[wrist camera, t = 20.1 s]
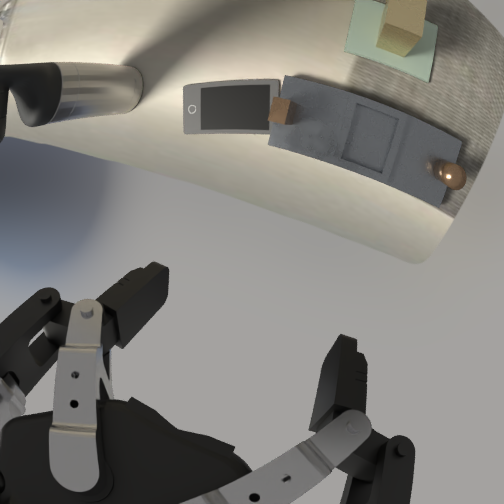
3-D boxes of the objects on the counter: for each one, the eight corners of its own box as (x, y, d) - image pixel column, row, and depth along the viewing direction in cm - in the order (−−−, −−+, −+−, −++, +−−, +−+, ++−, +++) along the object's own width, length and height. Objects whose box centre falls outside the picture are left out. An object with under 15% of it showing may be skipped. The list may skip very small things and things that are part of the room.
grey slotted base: (271, 143, 37) (256, 147, 31) (287, 77, 32) (275, 67, 26) (435, 203, 33) (450, 219, 27) (456, 140, 28) (477, 145, 22)
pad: (344, 51, 28) (344, 50, 28) (356, -3, 23) (356, -5, 23) (427, 82, 26) (428, 82, 26) (436, 27, 21) (438, 26, 21)
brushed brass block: (375, 47, 26) (385, 22, 17) (382, 13, 23) (391, -18, 14) (403, 57, 25) (422, 37, 17) (409, 23, 22) (427, -4, 14)
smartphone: (280, 79, 33) (279, 78, 32) (279, 134, 37) (278, 134, 36) (185, 85, 37) (183, 84, 36) (185, 134, 41) (183, 134, 40)
